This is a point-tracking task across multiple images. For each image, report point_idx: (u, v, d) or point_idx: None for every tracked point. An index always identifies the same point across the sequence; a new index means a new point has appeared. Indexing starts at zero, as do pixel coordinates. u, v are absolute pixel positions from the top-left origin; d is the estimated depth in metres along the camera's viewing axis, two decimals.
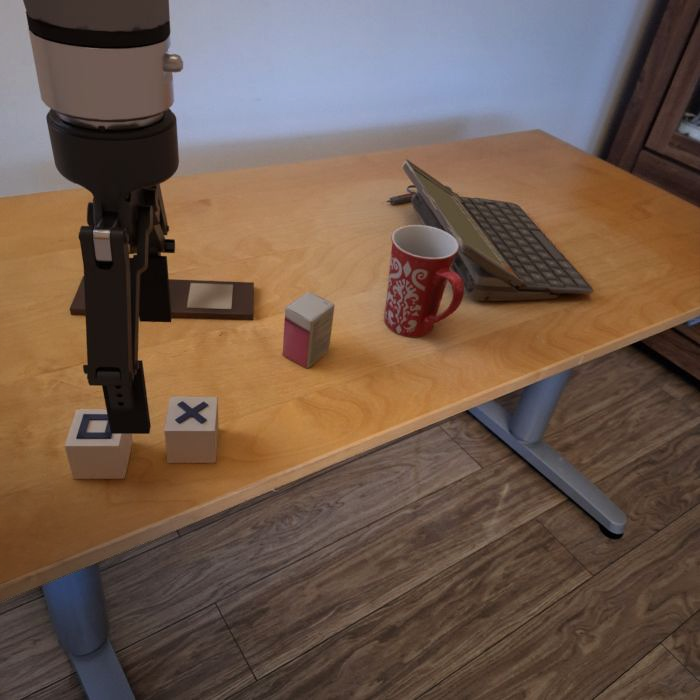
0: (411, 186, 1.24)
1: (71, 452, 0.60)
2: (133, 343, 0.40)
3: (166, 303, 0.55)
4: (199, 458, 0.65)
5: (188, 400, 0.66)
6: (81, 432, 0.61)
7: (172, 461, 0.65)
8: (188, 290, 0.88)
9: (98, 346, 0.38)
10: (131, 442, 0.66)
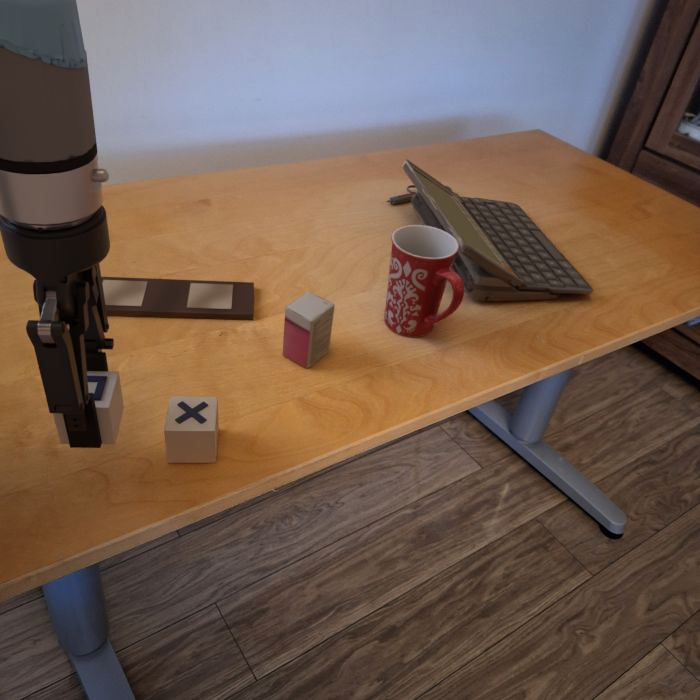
0: (411, 186, 1.24)
1: (58, 414, 0.56)
2: (83, 386, 0.53)
3: None
4: (199, 458, 0.65)
5: (188, 400, 0.66)
6: None
7: (172, 461, 0.65)
8: (188, 290, 0.88)
9: (53, 393, 0.50)
10: (122, 407, 0.63)
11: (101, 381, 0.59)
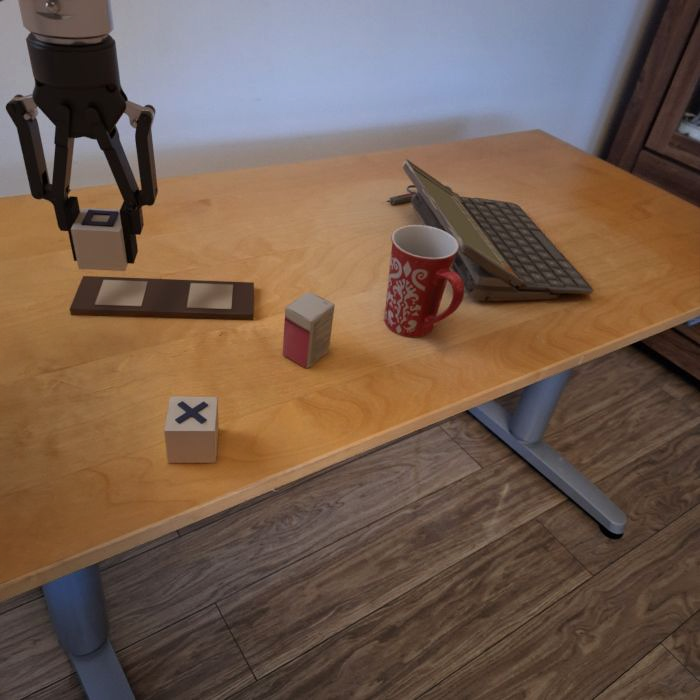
0: (411, 186, 1.24)
1: None
2: (52, 186, 0.64)
3: None
4: (199, 458, 0.65)
5: (188, 400, 0.66)
6: (94, 212, 0.68)
7: (172, 461, 0.65)
8: (188, 290, 0.88)
9: None
10: (120, 267, 0.69)
11: (105, 223, 0.67)
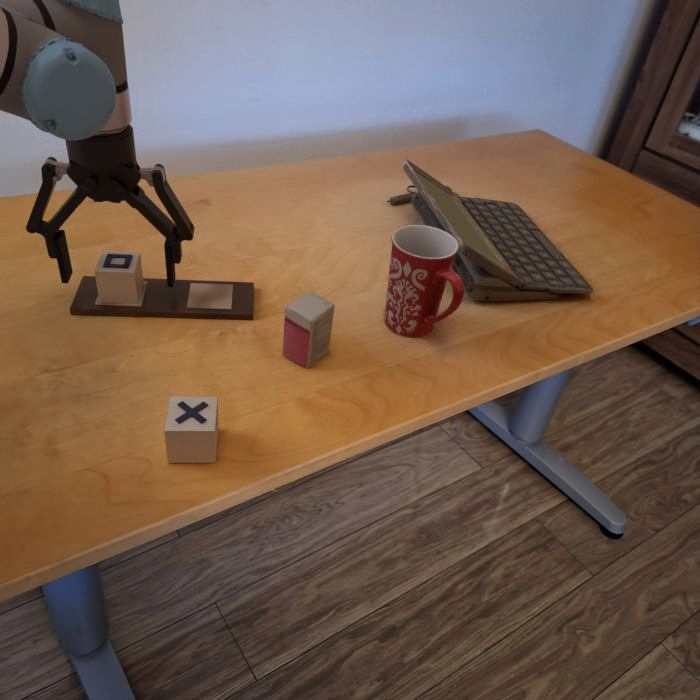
0: (411, 186, 1.24)
1: None
2: (49, 223, 0.77)
3: None
4: (199, 458, 0.65)
5: (188, 400, 0.66)
6: (112, 255, 0.83)
7: (172, 461, 0.65)
8: (188, 290, 0.88)
9: None
10: (133, 300, 0.84)
11: (122, 265, 0.81)
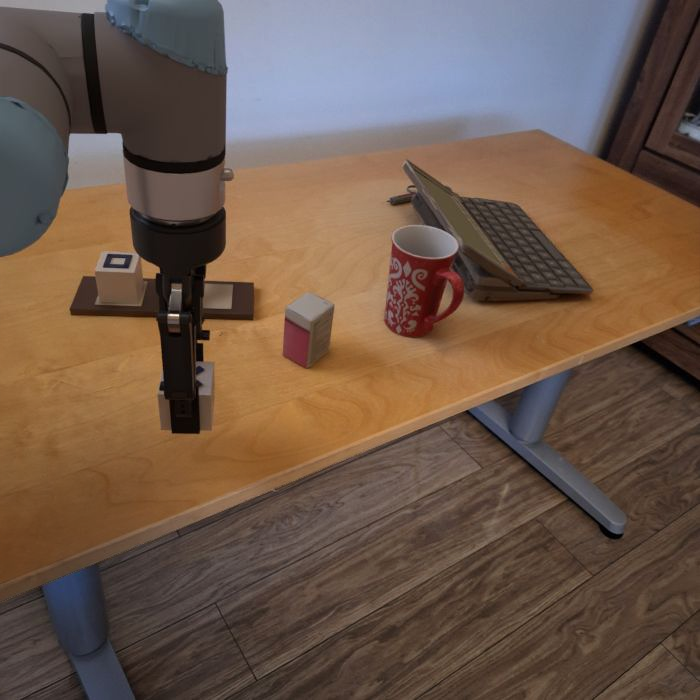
0: (411, 186, 1.24)
1: None
2: (193, 373, 0.56)
3: None
4: None
5: None
6: (112, 255, 0.83)
7: (166, 428, 0.62)
8: None
9: (171, 380, 0.53)
10: (133, 300, 0.84)
11: (122, 265, 0.81)
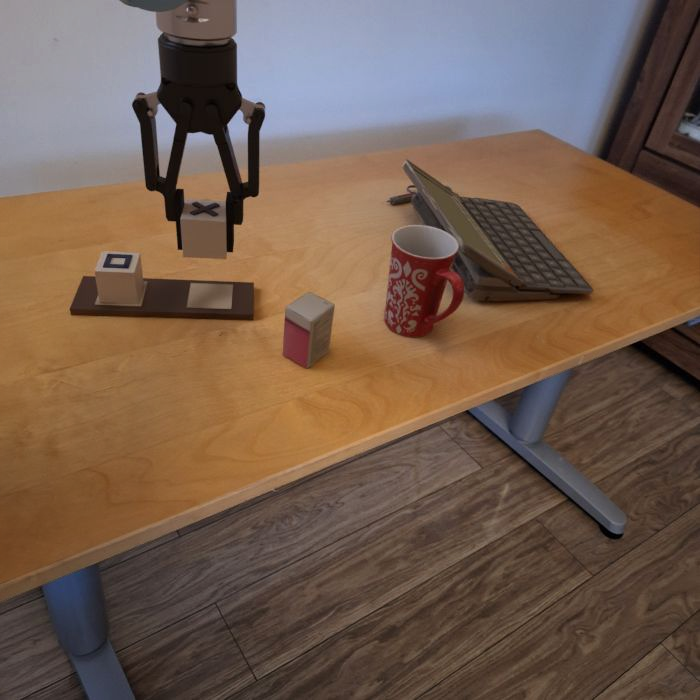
0: (411, 186, 1.24)
1: None
2: (165, 179, 0.68)
3: None
4: None
5: (221, 208, 0.72)
6: (112, 255, 0.83)
7: None
8: (188, 290, 0.88)
9: None
10: (133, 300, 0.84)
11: (122, 265, 0.81)
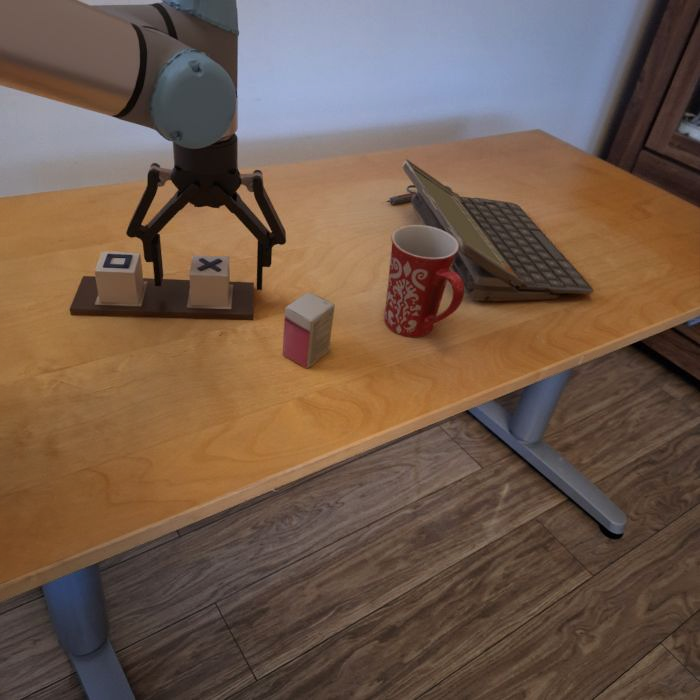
0: (411, 186, 1.24)
1: None
2: (149, 228, 0.79)
3: None
4: None
5: (224, 263, 0.85)
6: (112, 255, 0.83)
7: None
8: (188, 290, 0.88)
9: (134, 212, 0.79)
10: (133, 300, 0.84)
11: (122, 265, 0.81)
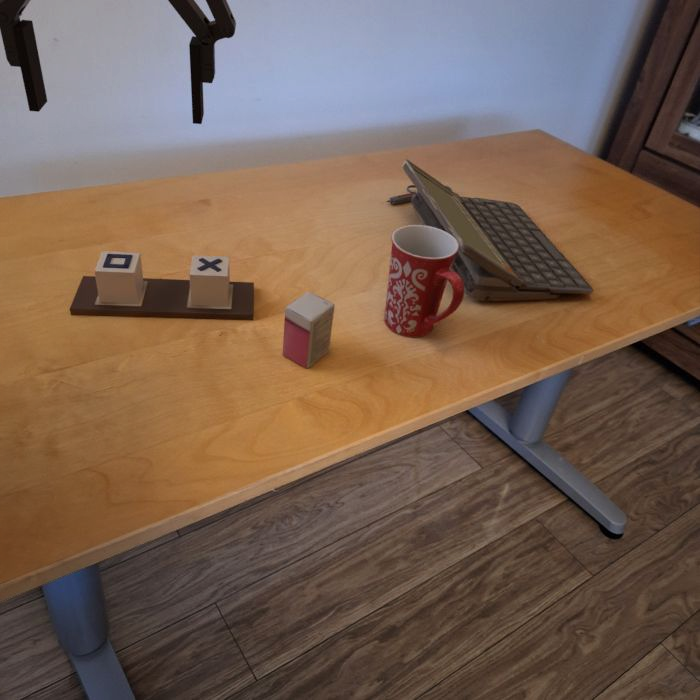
0: (411, 186, 1.24)
1: None
2: None
3: None
4: None
5: (224, 263, 0.85)
6: (112, 255, 0.83)
7: None
8: (188, 290, 0.88)
9: None
10: (133, 300, 0.84)
11: (122, 265, 0.81)
